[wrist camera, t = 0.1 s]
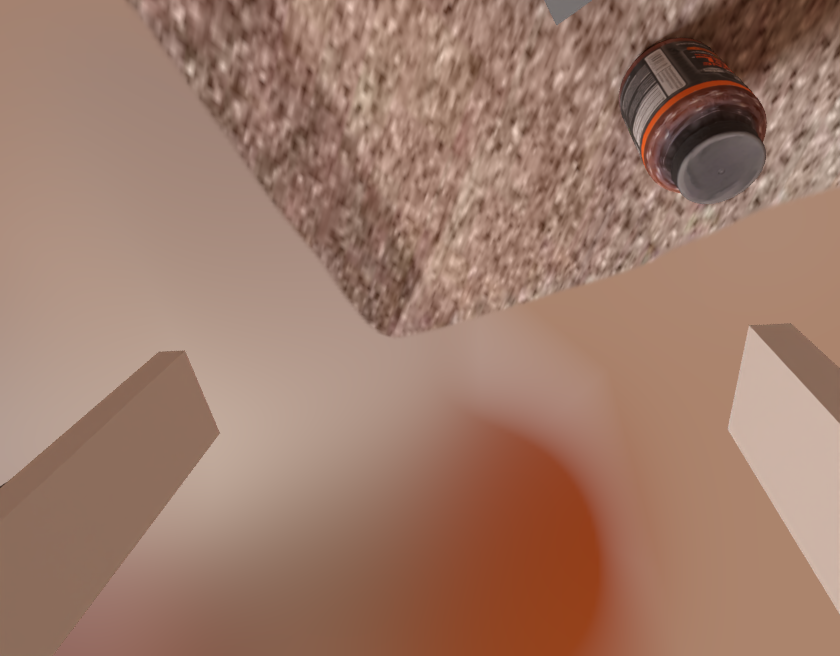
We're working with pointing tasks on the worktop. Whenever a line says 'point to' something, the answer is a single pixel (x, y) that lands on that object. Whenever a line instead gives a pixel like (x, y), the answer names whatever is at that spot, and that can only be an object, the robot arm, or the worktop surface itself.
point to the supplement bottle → (693, 121)
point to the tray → (564, 8)
